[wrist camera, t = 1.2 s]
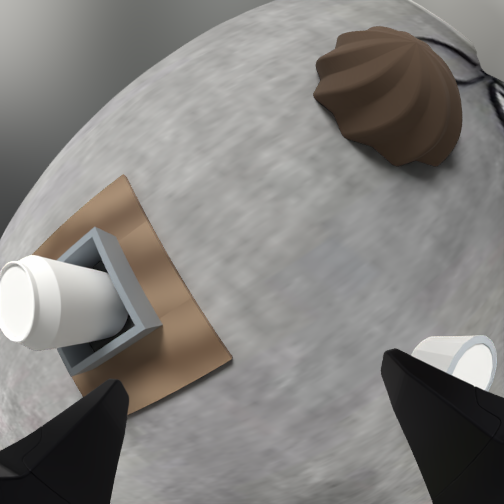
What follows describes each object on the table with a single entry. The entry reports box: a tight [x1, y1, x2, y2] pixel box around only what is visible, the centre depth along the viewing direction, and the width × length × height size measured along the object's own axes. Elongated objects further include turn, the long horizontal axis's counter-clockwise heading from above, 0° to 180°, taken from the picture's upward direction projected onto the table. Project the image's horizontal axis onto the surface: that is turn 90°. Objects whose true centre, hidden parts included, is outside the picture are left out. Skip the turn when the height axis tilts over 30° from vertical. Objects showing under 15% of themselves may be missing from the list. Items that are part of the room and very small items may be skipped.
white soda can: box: [0, 255, 128, 351], centre depth 17 cm, size 6×6×12 cm
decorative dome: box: [313, 26, 462, 167], centre depth 21 cm, size 19×20×10 cm
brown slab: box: [32, 174, 233, 415], centre depth 22 cm, size 20×16×1 cm
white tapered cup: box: [411, 335, 497, 392], centre depth 17 cm, size 7×7×7 cm
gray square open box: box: [56, 227, 163, 377], centre depth 21 cm, size 9×9×4 cm
